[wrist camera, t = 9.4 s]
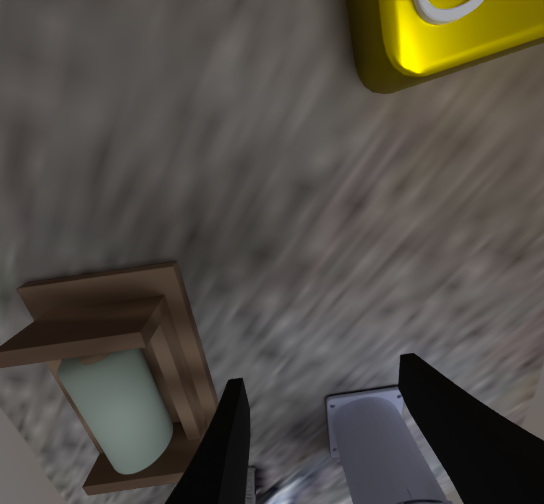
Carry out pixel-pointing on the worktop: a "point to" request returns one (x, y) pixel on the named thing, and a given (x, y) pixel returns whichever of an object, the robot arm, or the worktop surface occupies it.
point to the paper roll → (120, 406)
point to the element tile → (436, 37)
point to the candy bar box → (251, 486)
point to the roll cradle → (117, 337)
